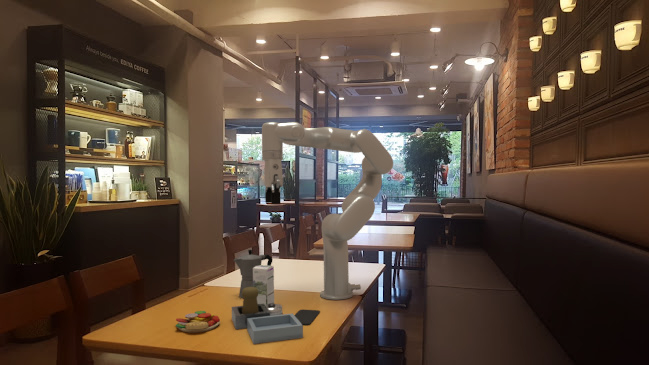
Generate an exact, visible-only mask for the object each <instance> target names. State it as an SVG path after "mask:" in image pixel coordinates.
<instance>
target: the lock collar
mask: <svg viewBox="0 0 649 365" xmlns="http://www.w3.org/2000/svg"><path fill="white" fill-rule="evenodd" d="M242 309H243V305H237V306H236V305H235V306H231V322H232V323H233V326H234V329H235V330H242V329H247V318H256V317H265V316H274V315H283V305H282V304H279V303H275V302H274V303H270V304H266V305H264V304H258V310H259V312H257V313H247V314H242Z"/></svg>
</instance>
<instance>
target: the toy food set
mask: <svg viewBox="0 0 649 365" xmlns="http://www.w3.org/2000/svg"><path fill="white" fill-rule="evenodd" d="M184 317H185V318H176V319H175V321H176V322H177V324H175V327H176V328H177V329H179V331H181V332H184V333H190V334H191V333H204V332H208V331H211V330H214V329H215V328H217V327H218V326H219V325H220V323H221V321H220V320H221V319H220V317H219V316H218V315H215V314H211V313H209V312H206V311H205V310H197V311H195V312H193V313H187V314H185V315H184Z"/></svg>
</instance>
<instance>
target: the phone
mask: <svg viewBox="0 0 649 365" xmlns="http://www.w3.org/2000/svg"><path fill="white" fill-rule="evenodd" d="M320 313H321V311H320V310H318V309H317V310H316V309H299V310H298V311H297V312H296V313H295V314H294V316H295V317H296V318H297V319H298V320H299V322H300V323H301V324H302V325H303V327H304V326H305V327H306V326H311V325H312V324H313V322H314V321H315V319H317V317H318V316H319V315H320Z"/></svg>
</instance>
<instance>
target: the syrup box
mask: <svg viewBox="0 0 649 365" xmlns="http://www.w3.org/2000/svg"><path fill="white" fill-rule="evenodd" d="M253 287H255V288H257V289H258V296H257V303H258V304H264V305H266V304H270V303H274V304H275V269H274V265H271V266H268V265H267V264H266V265H265V264H263V265H262V264H261V265H258V266H255V267H254V268H253Z"/></svg>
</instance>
